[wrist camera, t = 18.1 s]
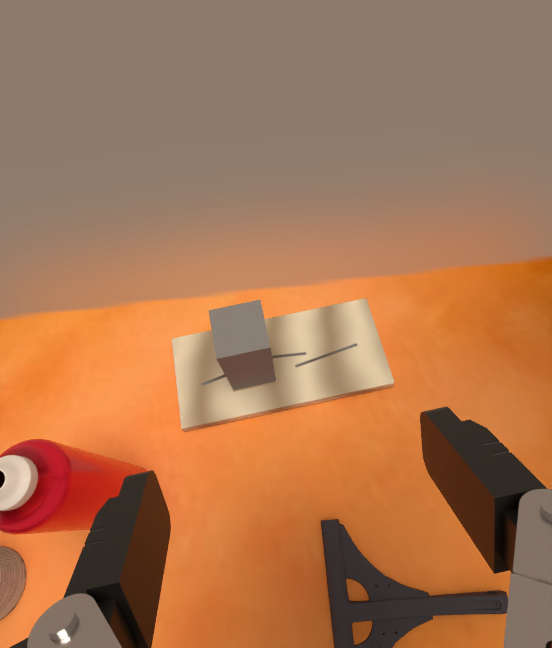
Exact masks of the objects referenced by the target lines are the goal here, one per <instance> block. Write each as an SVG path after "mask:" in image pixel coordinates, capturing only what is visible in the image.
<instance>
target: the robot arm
mask: <svg viewBox="0 0 552 648" xmlns="http://www.w3.org/2000/svg"><path fill="white" fill-rule="evenodd" d="M420 423H421V437H422V451H423V459H424V463H425V466H426V468H427V471H428V473H429V475H430V477H431V478H432V480H433V481H434V483H435V484H436V486H437V487H438V489H439V490H440V492H441V493H442V495H443V496H444V498H445V499H446V501H447V503H448V504H449V506H450V507H451V509H452V510H453V512H454V513H455V515H456V516H457V518H458V519H459V521H460V522H461V524H462V525H463V527H464V528H465V530H466V531H467V533H468V535H469V536H470V538H471V539H472V541H473V542H474V544H475V545H476V547H477V548H478V550H479V551H480V553H481V554H482V556H483V557H484V559H485V560H486V562H487V563H488V565H489V566H490V568H491V570H492V571H493V573H494V574H495V573H499V572H504V571H508V570H510V571H511V578H510V588H509V599H508V609H507V619H506V629H505V639H504V648H552V490H551V489H547V488H546V487H545V486H544V485H543V484H542V483H541V482H540V481H539V480H538V479H537V478H536V477H535V476H534V475H533V474H532V473H531V472H530V471H529V470H528V469H527V468H526V467H525V466H524V465H523V464H522V463H521V462H520V461H519V460H518V459H517V458H516V457H515V456H514V455H513V454H512V453H509V450H508V449H507V448H506V447H505V446H504V445H503V444H502V443H500V442H499V440H498V439H497V438H496V437H495V436H494V435H493V434H492V433H491V432H490V431H489V430H488V429H487V428H485V427H483V426H481V425H479V424H477V423H475V422H473V421H471V420H466V421H462V422H461V420H460V419H459V418H458V417H457V416H456V415H455V414H454V413H453V412H452V411H451V410H450V409H449V408H448V407H443V408H438V409H434V410H429V411H424V412H422V413H421V415H420ZM170 530H171V525H170V515H169V511H168V508H167V505H166V502H165V499H164V497H163V494H162V491H161V488H160V485H159V483H158V480H157V477H156V475H155V473H154V471H152V470H151V471H147V472H142V473H138V474H133V475H128V476H126V477H125V478H124V481H123V484H122V486H121V489H120V492H119V495H118V496H117V497H113V498H109V499H108V500H107V502H106V503H105V504H104V505H103V506H102V508H101V509H100V510H99V511H98V513H97V514H96V516H95V519H94V521H93V524H92V526H91V529H90V533H89V534H88V537H87V539H86V542H85V547H83V549H82V552H81V555H80V557H79V560H78V562H77V565H76V567H75V570H74V572H73V575H72V577H71V580H70V583H69V585H68V588H67V590H66V593H65V595H64V598H63V599H61V600H59V601H58V602H56V603H55V604H53V605H52V606H51V607H50V608H49V609H47V610H46V611H45V612H44V613H43V614H42V616H41V617H40V618H39V619H38V621H37V622H36V623H35V625H34V627H33V628H32V630H31V633H30V635H29V637H28V638H26V639H25V640H23V641H21V642H19V643H17V644H15V645H14V646H12V647H10V648H151V646H152V640H153V634H154V628H155V622H156V616H157V610H158V604H159V598H160V592H161V586H162V580H163V574H164V568H165V562H166V556H167V550H168V544H169V538H170Z"/></svg>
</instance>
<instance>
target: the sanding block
mask: <svg viewBox="0 0 552 648" xmlns="http://www.w3.org/2000/svg"><path fill="white" fill-rule="evenodd" d="M209 315H210V321H211V328H212V334H213V341H214V347H215V353H216V359H217V361H218V363H219V365H220V367H221V368H222V370H223V372H224V374H225V376H226V378H227V379H228V381H229V383H230V385H231V387H232V389H233V392H236V391H240V390H245V389H250V388H254V387H259V386H263V385H268V384H273V383H277V379H276V374H275V369H274V364H273V359H272V353H271V347H270V343H269V338H268V334H267V329H266V324H265V320H264V315H263V310H262V306H261V301H260V300H257V301H252V302H247V303H242V304H238V305H233V306H228V307H223V308H218V309H214V310H209Z"/></svg>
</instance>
